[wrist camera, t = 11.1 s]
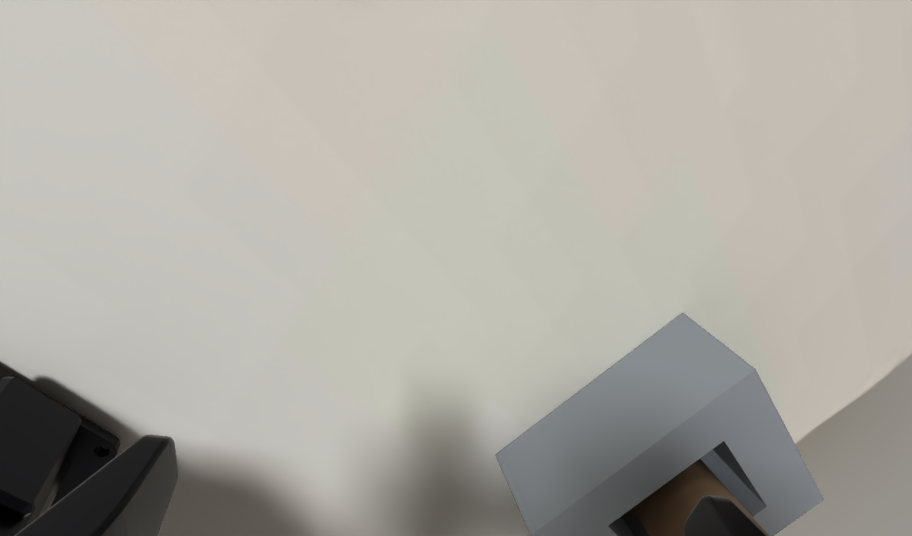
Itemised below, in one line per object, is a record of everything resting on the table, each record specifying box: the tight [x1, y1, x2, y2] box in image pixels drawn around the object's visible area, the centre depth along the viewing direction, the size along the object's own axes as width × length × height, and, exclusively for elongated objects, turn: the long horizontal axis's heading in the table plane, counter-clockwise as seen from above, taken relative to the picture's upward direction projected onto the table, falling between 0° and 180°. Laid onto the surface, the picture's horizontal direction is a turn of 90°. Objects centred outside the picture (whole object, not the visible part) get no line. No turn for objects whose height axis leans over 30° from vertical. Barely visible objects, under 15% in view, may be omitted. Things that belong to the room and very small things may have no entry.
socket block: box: [496, 313, 824, 536], centre depth 26 cm, size 11×11×4 cm
